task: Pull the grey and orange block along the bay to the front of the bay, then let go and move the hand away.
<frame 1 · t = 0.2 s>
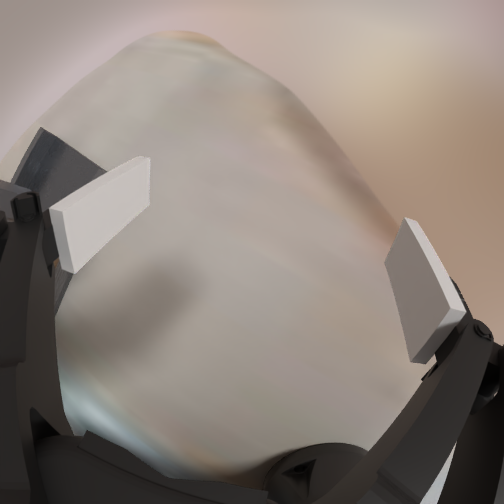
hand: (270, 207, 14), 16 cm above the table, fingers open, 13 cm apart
bay: (43, 233, 32), on the table
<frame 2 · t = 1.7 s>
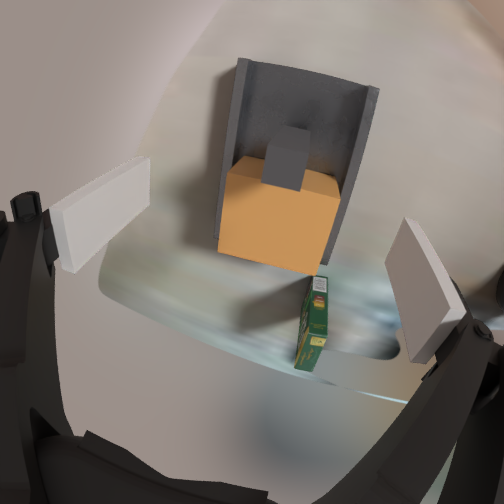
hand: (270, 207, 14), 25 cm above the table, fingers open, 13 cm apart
grey and orange block: (279, 204, 31), point 9 cm above the table, slide at 0.0 cm
bay: (291, 159, 37), on the table
coffee box: (314, 292, 47), on the table
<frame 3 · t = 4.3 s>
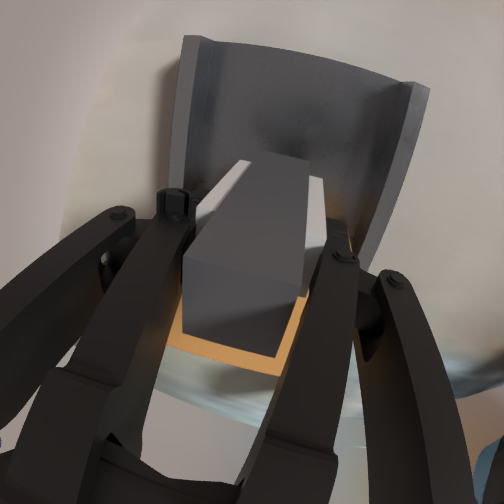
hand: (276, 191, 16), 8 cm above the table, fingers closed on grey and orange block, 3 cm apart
grey and orange block: (252, 295, 18), point 9 cm above the table, slide at 0.0 cm, touching gripper
bay: (278, 199, 24), on the table
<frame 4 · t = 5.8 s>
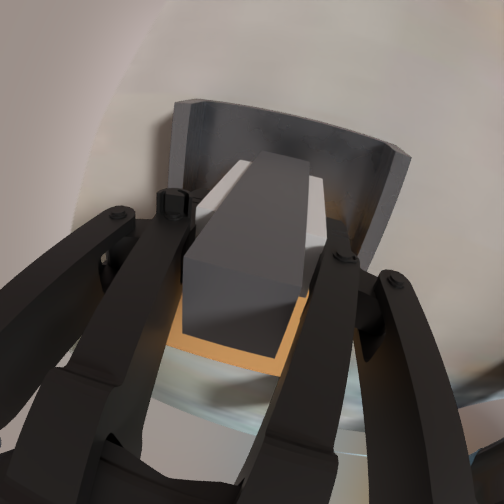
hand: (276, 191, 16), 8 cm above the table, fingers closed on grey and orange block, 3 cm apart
grey and orange block: (251, 295, 18), point 9 cm above the table, slide at 4.9 cm, touching gripper
bay: (266, 248, 27), on the table
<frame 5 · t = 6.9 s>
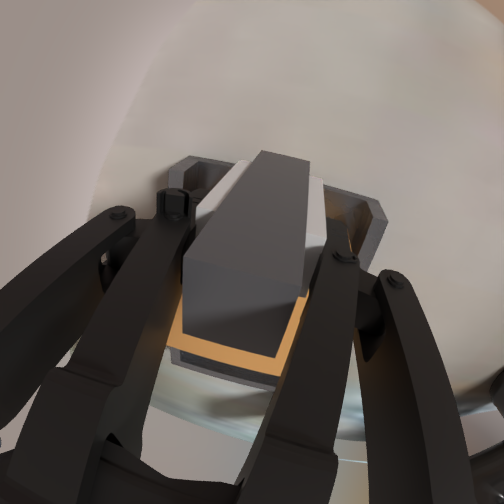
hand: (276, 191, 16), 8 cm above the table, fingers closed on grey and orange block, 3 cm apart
grey and orange block: (251, 295, 18), point 9 cm above the table, slide at 9.8 cm, touching gripper
bay: (257, 288, 29), on the table
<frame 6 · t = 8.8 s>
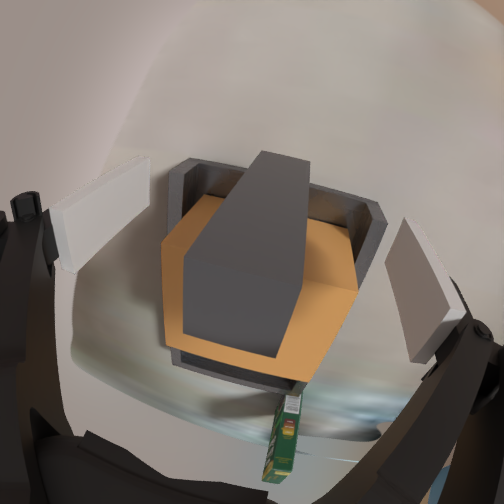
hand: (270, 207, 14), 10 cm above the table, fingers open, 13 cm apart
grey and orange block: (252, 295, 18), point 9 cm above the table, slide at 10.0 cm
bay: (258, 290, 29), on the table
coffee box: (288, 399, 40), on the table
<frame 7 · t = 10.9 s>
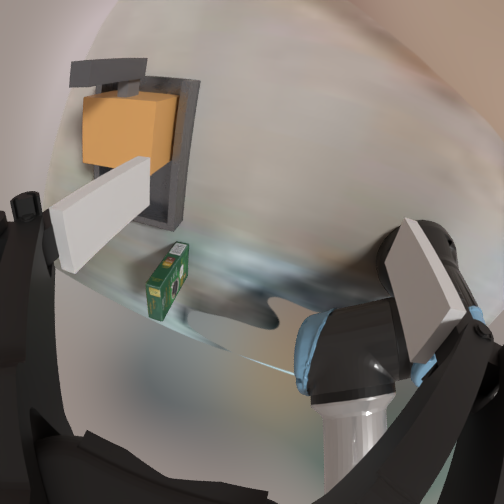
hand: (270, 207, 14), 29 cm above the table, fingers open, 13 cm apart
grey and orange block: (116, 114, 32), point 9 cm above the table, slide at 10.0 cm
bay: (145, 147, 44), on the table
coffee box: (182, 257, 55), on the table
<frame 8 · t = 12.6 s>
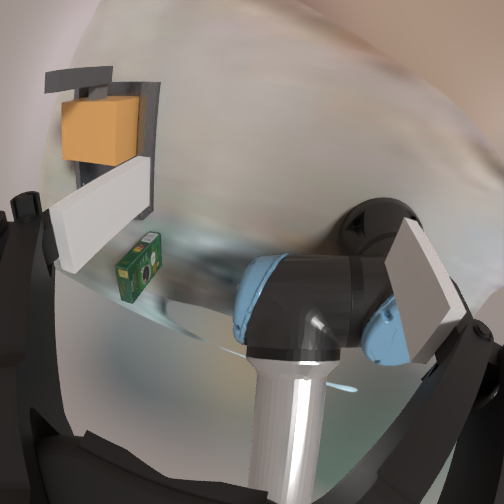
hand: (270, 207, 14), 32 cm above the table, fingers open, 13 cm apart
grey and orange block: (86, 115, 36), point 9 cm above the table, slide at 10.0 cm
bay: (118, 145, 47), on the table
coffee box: (156, 247, 58), on the table
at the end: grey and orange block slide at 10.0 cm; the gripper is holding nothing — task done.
